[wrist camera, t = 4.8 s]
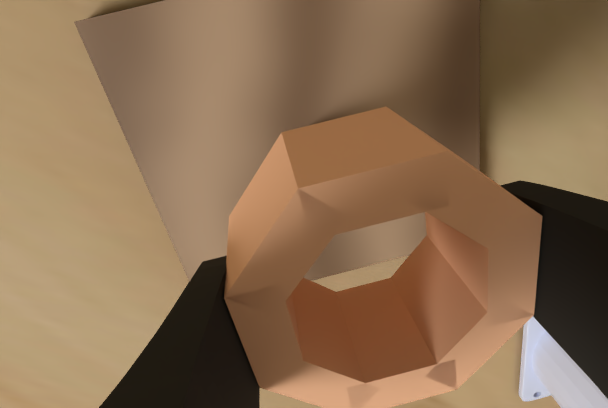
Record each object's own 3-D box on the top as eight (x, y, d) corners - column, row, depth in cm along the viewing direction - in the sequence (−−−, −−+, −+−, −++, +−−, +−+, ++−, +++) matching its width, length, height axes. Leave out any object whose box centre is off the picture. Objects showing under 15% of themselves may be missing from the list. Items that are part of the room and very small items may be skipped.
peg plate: (464, -71, 14) (572, -103, 9) (468, 226, 19) (536, 293, 15) (85, 20, 13) (6, 31, 9) (203, 294, 19) (191, 384, 14)
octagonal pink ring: (459, 88, 9) (550, 124, 6) (464, 286, 12) (529, 370, 9) (206, 150, 9) (191, 215, 6) (270, 336, 12) (279, 437, 9)
